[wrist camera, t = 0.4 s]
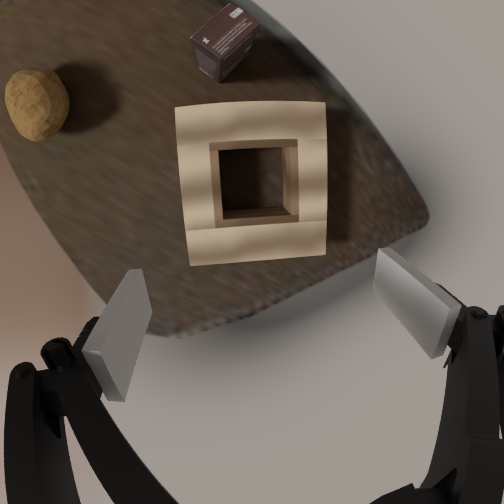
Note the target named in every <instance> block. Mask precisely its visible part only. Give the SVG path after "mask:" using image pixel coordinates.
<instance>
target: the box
mask: <svg viewBox="0 0 504 504" xmlns="http://www.w3.org/2000/svg"><path fill="white" fill-rule="evenodd" d="M260 25H261V23H260V22H258V21H257V20H256V19H254V18H253V17H252V16H250V15H249V14H247V13H246V12H244V11H243V10H242V9H240V8H239V7H237V6H236V5H235V4H233V3H230V4H228V5H227V6H226V7H225V8H224V9H222V10H221V11H220V12H219V13H218V14H216V15H214V16H213V17H211V18H210V19H209V20H208V21H207V22H206V24H205V25H204V26H203V27H202V28H200V29H199V30H198V31H197V32H196V33H195V34H194V35H193V36H192V37H191V42H192V46H193V51H194V56H195V60H196V64H197V67H198V68H199V69H200V70H201V71H203V72H204V73H206V74H207V75H208V76H210V77H211V78H212V79H214V80H215V81H216V82H218V83H221V82H222V81H223V79H224V78H225V77H226V76H227V75H228V74H229V73H230V72H231V71H232V70H233V69H234V68H235V67H236V66H237V65H238V64H239V63H240V62H241V61H242V60H243V59H244V58H246V57H247V55H248V53H249V50H250V48H251V45H252V43H253V40H254V38H255V36H256V33H257V31H258V29H259V27H260Z"/></svg>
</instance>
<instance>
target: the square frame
mask: <svg viewBox="0 0 504 504" xmlns="http://www.w3.org/2000/svg"><path fill="white" fill-rule="evenodd" d="M175 119H176V135H177V149H178V162H179V174H180V185H181V195H182V204H183V213H184V222H185V230H186V238H187V246H188V253H189V261H190V266H196V265H209V264H221V263H234V262H246V261H258V260H270V259H281V258H293V257H304V256H316V255H325V253H326V228H327V130H326V107H325V103H323V102H304V101H246V102H227V103H213V104H202V105H192V106H183V107H175ZM268 147H282V176H283V207H268V208H253V209H239V210H226V211H223V206H222V192H221V178H220V163H219V150H229V149H245V148H268Z"/></svg>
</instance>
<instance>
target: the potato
mask: <svg viewBox="0 0 504 504" xmlns="http://www.w3.org/2000/svg"><path fill="white" fill-rule="evenodd" d="M5 101H6V105H7V108H8V112H9V114H10V117H11V119H12V121H13V123H14V125H15V127H16V128H17V130H18V131H19V133H20V134H21V135H22V136H24V137H26V138H27V139H29V140H32V141H36V142H41V141H44V140H47V139H49V138H51V137H52V136H54V135H55V134H56V133H57V131H58V130H59V129H60V128H61V127H62V126H63V123H64V121H65V119H66V117H67V115H68V111H69V104H70V102H69V96H68V93H67V91H66V89H65V87H64V85H63V83H62V82H61V80H60V78H59V76H58V75H57V74H56V73H54V72H53V71H52V70H45V69H36V68H27V69H22V70H20V71H19V72H17V73H15V74H14V75H13V76H12V77H11V79H10V80H9V82H8V84H7V86H6V91H5Z"/></svg>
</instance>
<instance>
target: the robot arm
mask: <svg viewBox="0 0 504 504" xmlns="http://www.w3.org/2000/svg"><path fill="white" fill-rule="evenodd" d="M373 292H374V293H375V294H376V295H377V296H378V297H379V298H380V299H381V301H382V302H383V303H384V304H385V305H386V306H387V307H388V308H389V310H390V311H391V312H392V313H393V314H394V315H395V316H396V318H397V319H398V320H399V321H400V322H401V323H402V325H403V326H404V327H405V328H406V329H407V330H408V332H409V333H410V334H411V335H412V336H413V338H414V339H415V340H416V341H417V342H418V344H419V345H420V346H421V347H422V349H423V350H424V351H425V352H426V353H427V355H428V356H429V357H430V358H431V359H434V358H436V357H439V356H442V355H443V354H444V351H445V349H446V347H447V345H448V346H449V347H450V348H451V351H450V353H449V356H448V358H447V360H446V362H445V364H444V367H443V368H445V367H446V365H448V370H447V381H446V389H445V396H444V403H443V409H442V415H441V421H440V426H439V431H438V436H437V440H436V444H435V449H434V453H433V457H432V460H431V464H430V467H429V471H428V474H427V476H426V478H425V479H424V481H423V483H422V484H421V486H420V488H416V489H415V488H414V486H413V484H412V483H411V484H409V485H407V486H405V487H402V488H400V489H398V490H395V491H393V492H390V493H388V494H385V495H383V496H381V497H380V498H378V499H376V500H375V501H373V502H371V503H370V504H501V501H502V496H503V491H504V305H501V306H499V308H498V311H497V314H496V315H489V314H488V313H487V312H486V311H485V310H484V309H482V308H480V307H476V306H471V307H466V306H465V305H464V304H463V303H462V302H461V301H459V300H458V299H457V298H456V297H455V296H452V294H451V293H450V292H448V291H447V290H446V289H445V288H444V287H443V286H441V285H439V284H437V283H435V282H433V281H432V280H431V279H429V278H428V277H427V276H426V275H424V274H423V273H422V272H420V271H419V270H418V269H417V268H415V267H414V266H413V265H412V264H410V263H409V262H408V261H406V260H405V259H404V258H402V257H401V256H400V255H398V254H397V253H396V252H394V251H393V250H392V249H390V248H379V249H378V256H377V263H376V270H375V277H374V284H373ZM151 315H152V309H151V305H150V301H149V297H148V293H147V289H146V285H145V280H144V276H143V271H142V269H131V270H128V272H127V273H126V275H125V277H124V278H123V280H122V281H121V283H120V284H119V286H118V288H117V289H116V291H115V293H114V294H113V296H112V297H111V299H110V301H109V302H108V304H107V306H106V307H105V309H104V311H103V313H102V314H101V316H100V317H93V318H92V319H91V320H90V321H89V322H87V323H86V325H85V326H84V328H83V330H82V332H81V333H80V335H79V337H78V338H77V340H76V342H75V343H74V345H73V347H72V345H71V343H70V341H69V340H68V339H66V338H63V337H61V338H55V339H52V340H50V341H48V342H47V343H46V344H45V345H44V346H43V347H42V349H41V356H42V358H43V360H44V362H45V364H46V365H47V367H48V369H46V370H40V371H37V370H36V368H35V367H34V365H33V364H32V363H30V362H23V363H20V364H18V365H16V366H15V367H14V368H13V370H12V371H11V373H10V378H9V384H8V391H7V400H6V410H5V425H4V468H5V469H4V470H5V484H6V493H7V502H8V504H81V502H80V499H79V496H78V492H77V488H76V484H75V480H74V475H73V471H72V466H71V461H70V456H69V451H68V445H67V439H66V432H65V424H64V416H67V418H68V420H69V423H70V425H71V427H72V430H73V431H74V434H75V436H76V438H77V440H78V442H79V444H80V446H81V448H82V450H83V452H84V454H85V456H86V458H87V460H88V462H89V463H90V465H91V467H92V469H93V470H94V472H95V474H96V476H97V477H98V479H99V481H100V482H101V484H102V486H103V487H104V489H105V490H106V492H107V493H108V495H109V496H110V498H111V499H112V501H113V502H114V504H179V503H178V502H177V501H176V500H175V499H174V498H173V497H172V496H171V495H170V494H169V493H168V491H167V490H166V489H165V488H164V487H163V486H162V485H161V484H160V482H159V481H158V480H157V479H156V478H155V476H154V475H153V474H152V473H151V472H150V470H149V469H148V468H147V467H146V466H145V464H144V463H143V462H142V460H141V459H140V458H139V456H138V455H137V454H136V452H135V451H134V450H133V448H132V447H131V446H130V444H129V443H128V441H127V440H126V439H125V437H124V436H123V434H122V433H121V432H120V430H119V428H118V427H117V425H116V424H115V422H114V421H113V419H112V418H111V416H110V414H109V413H108V411H107V410H106V408H105V406H104V405H103V403H102V401H101V400H100V398H101V395H102V392H103V393H104V395H105V396H106V398H107V400H109V401H119V402H125V398H126V394H127V391H128V387H129V384H130V380H131V377H132V373H133V370H134V367H135V364H136V360H137V357H138V354H139V351H140V348H141V345H142V341H143V338H144V335H145V332H146V329H147V326H148V323H149V320H150V318H151ZM499 425H500V428H501V433H502V439H500V438H499Z"/></svg>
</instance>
